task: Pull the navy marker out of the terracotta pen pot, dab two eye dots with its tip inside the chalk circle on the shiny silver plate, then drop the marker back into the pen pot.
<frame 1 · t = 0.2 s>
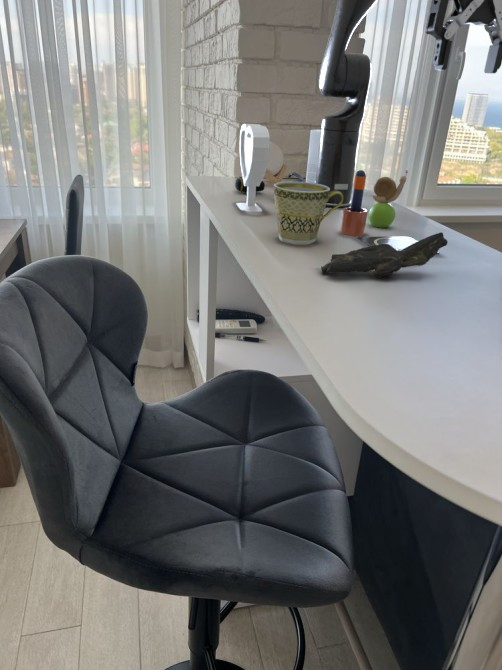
hand: (465, 71, 75), 29 cm above the table, tool pointing down, fingers open, 8 cm apart
shiny silver plate: (396, 247, 94), on the table
marker: (352, 232, 100), resting on pen pot
ceramic cup: (304, 242, 95), on the table
snail figurine: (381, 229, 107), on the table
cosmetic box: (321, 187, 149), on the table
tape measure: (249, 192, 135), on the table
pen pot: (352, 234, 100), on the table
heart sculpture: (250, 209, 117), on the table
statue: (381, 275, 79), on the table
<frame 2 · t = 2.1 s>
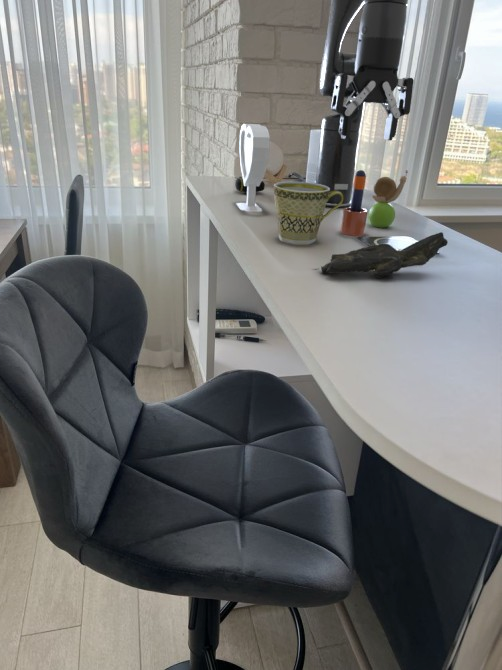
hand: (366, 139, 92), 18 cm above the table, tool pointing down, fingers open, 8 cm apart
nothing on the table moved.
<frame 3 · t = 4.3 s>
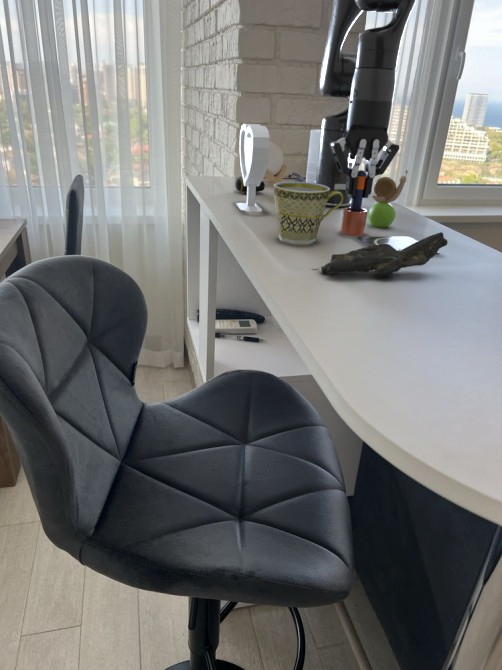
hand: (357, 196, 97), 7 cm above the table, tool pointing down, fingers closed on marker, 2 cm apart
marker: (352, 232, 100), resting on pen pot, touching gripper
everything else where it was.
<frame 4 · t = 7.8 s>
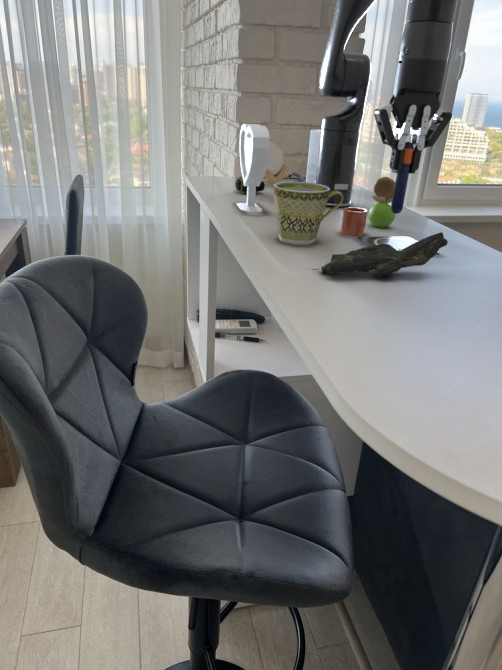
hand: (402, 172, 87), 14 cm above the table, tool pointing down, fingers closed on marker
marker: (395, 213, 90), point 7 cm above the table, touching gripper
everything else where it was.
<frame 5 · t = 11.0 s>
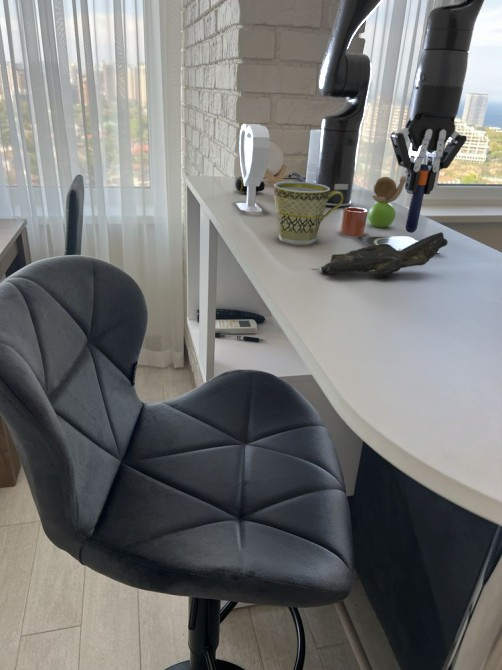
hand: (417, 193, 89), 10 cm above the table, tool pointing down, fingers closed on marker
marker: (410, 232, 92), point 3 cm above the table, touching gripper
everything else where it was.
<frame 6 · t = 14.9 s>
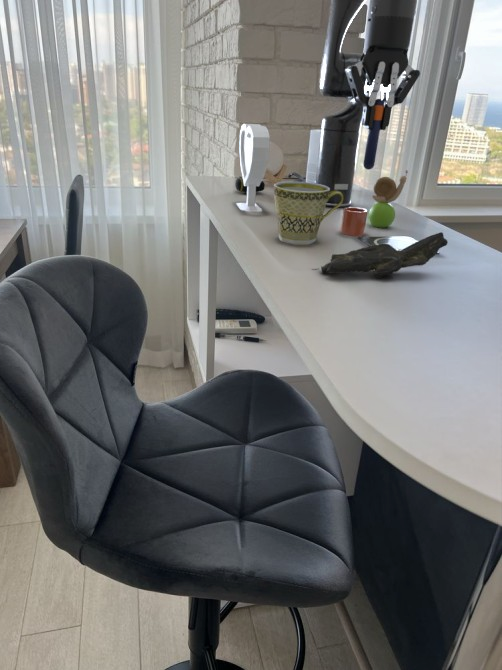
hand: (374, 128, 91), 20 cm above the table, tool pointing down, fingers closed on marker
marker: (368, 169, 94), point 13 cm above the table, touching gripper
everything else where it was.
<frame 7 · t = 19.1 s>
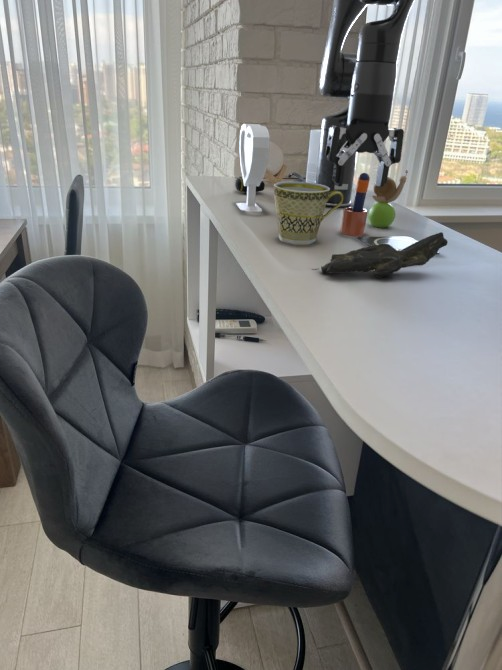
hand: (358, 185, 96), 9 cm above the table, tool pointing down, fingers open, 8 cm apart
marker: (352, 232, 100), resting on pen pot, tilted 11°
everything else where it was.
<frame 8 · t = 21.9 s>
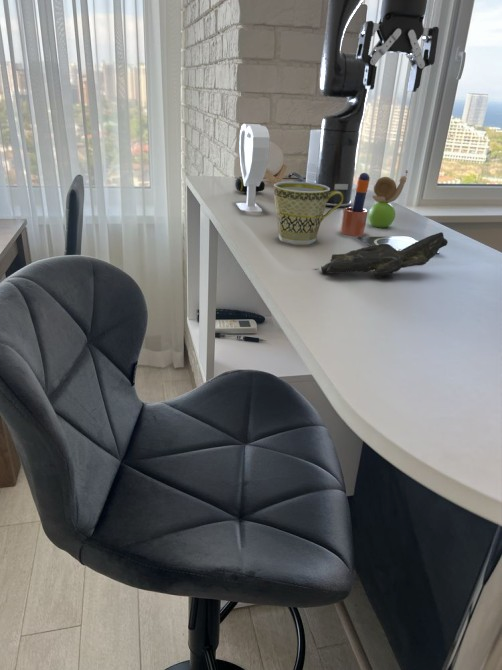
hand: (390, 90, 93), 26 cm above the table, tool pointing down, fingers open, 8 cm apart
nothing on the table moved.
at the end: marker 0.1 cm off-centre in the pen pot, point 0.4 cm above the pen pot's base; marker tilted 11°; the gripper is holding nothing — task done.
